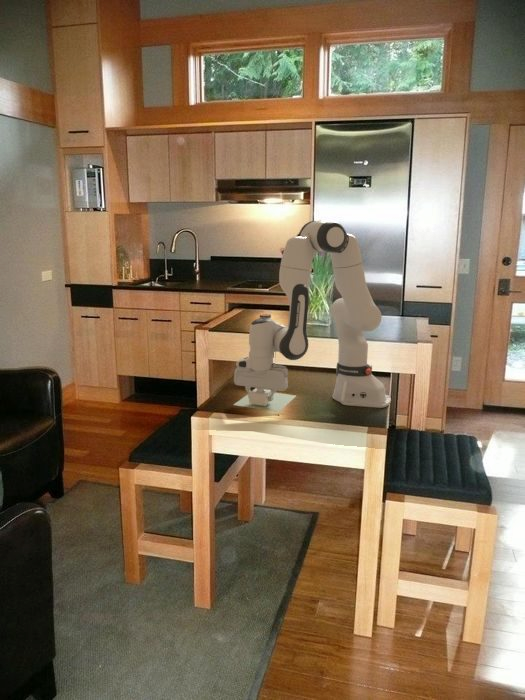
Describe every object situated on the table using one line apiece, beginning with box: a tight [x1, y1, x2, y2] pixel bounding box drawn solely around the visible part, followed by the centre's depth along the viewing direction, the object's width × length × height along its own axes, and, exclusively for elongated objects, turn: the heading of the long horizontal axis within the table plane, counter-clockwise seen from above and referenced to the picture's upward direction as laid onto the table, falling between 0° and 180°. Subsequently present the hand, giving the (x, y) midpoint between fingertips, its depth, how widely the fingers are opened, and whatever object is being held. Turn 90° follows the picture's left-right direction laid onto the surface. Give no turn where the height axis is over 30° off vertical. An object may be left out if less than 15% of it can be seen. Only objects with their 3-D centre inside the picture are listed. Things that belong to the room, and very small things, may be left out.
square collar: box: [249, 387, 272, 406], centre depth 203 cm, size 6×6×4 cm
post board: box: [233, 388, 297, 417], centre depth 208 cm, size 18×20×10 cm
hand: (260, 399), depth 203 cm, fingers closed on square collar, 6 cm apart
